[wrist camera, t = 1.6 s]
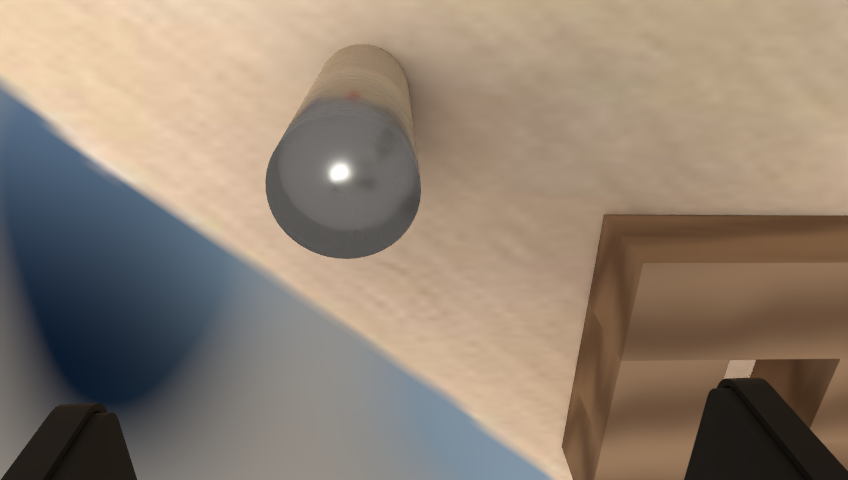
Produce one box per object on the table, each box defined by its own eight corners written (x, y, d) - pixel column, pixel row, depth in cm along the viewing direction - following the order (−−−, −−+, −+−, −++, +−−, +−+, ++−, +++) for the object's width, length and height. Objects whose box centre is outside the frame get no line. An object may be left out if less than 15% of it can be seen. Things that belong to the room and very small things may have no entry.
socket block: (604, 215, 29) (643, 262, 24) (905, 216, 30) (995, 262, 25) (561, 446, 36) (585, 516, 32) (805, 442, 37) (862, 509, 33)
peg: (315, 43, 25) (257, 113, 14) (409, 45, 25) (422, 115, 14) (321, 134, 26) (273, 259, 16) (407, 135, 27) (418, 258, 16)
